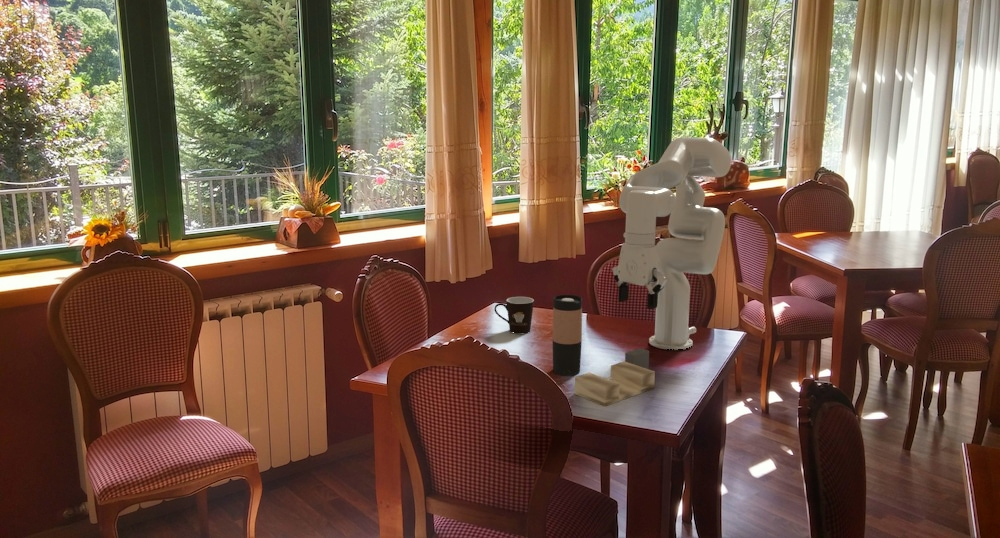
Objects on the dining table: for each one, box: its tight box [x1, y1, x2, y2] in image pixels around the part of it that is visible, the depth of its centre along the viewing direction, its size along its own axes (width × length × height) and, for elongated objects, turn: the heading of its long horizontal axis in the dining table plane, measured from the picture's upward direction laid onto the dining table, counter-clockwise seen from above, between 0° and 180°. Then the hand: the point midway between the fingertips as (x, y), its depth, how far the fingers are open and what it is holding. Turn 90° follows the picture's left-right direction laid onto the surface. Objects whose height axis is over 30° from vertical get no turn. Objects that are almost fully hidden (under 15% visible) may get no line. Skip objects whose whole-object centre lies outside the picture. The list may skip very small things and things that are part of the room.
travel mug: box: [552, 294, 583, 377], centre depth 199 cm, size 8×8×20 cm
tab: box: [624, 348, 650, 370], centre depth 199 cm, size 6×3×6 cm, turn 129°
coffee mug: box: [493, 296, 535, 334], centre depth 237 cm, size 12×9×10 cm
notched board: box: [574, 360, 656, 407], centre depth 186 cm, size 18×10×4 cm, turn 129°
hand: (637, 304), depth 195 cm, fingers open, 9 cm apart
